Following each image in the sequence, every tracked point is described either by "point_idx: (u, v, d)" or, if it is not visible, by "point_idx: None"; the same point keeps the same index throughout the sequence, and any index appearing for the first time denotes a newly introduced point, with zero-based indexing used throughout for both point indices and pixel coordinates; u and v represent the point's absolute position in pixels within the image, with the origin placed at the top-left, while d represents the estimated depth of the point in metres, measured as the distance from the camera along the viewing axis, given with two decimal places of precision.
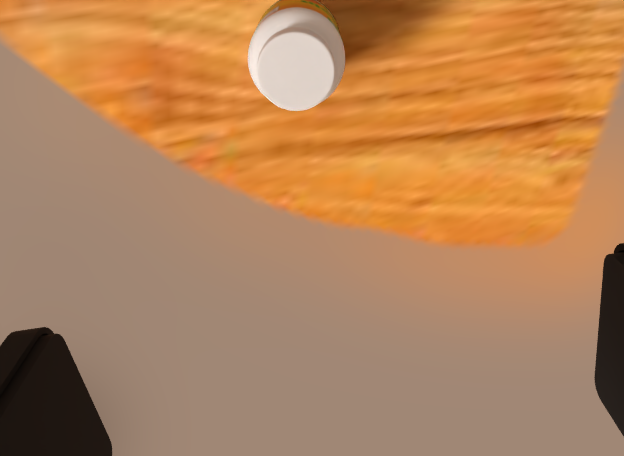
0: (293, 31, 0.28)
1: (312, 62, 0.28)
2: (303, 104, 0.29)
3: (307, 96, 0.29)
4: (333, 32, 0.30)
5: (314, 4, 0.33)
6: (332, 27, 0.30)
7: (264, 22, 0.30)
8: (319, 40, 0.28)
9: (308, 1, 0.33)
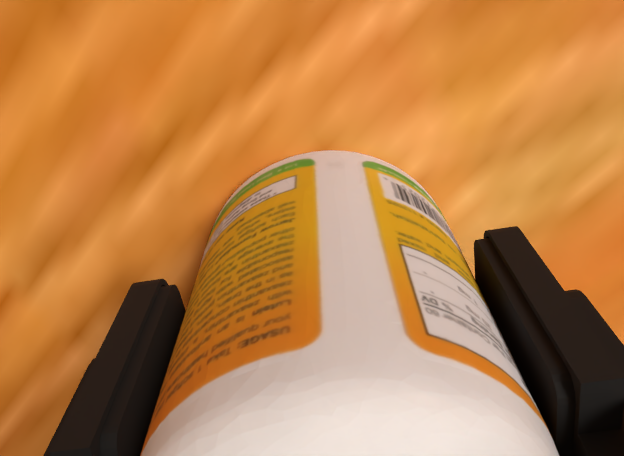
0: None
1: None
2: None
3: None
4: None
5: None
6: None
7: None
8: None
9: None
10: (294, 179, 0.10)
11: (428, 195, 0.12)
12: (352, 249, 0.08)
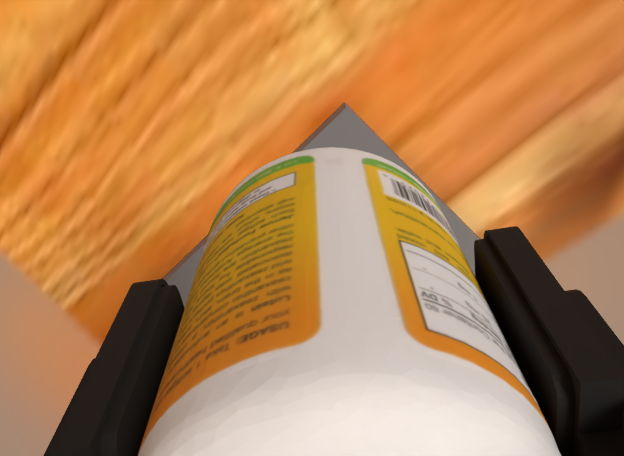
0: None
1: None
2: None
3: None
4: None
5: None
6: None
7: None
8: None
9: None
10: (293, 176, 0.10)
11: (428, 192, 0.11)
12: (351, 244, 0.08)
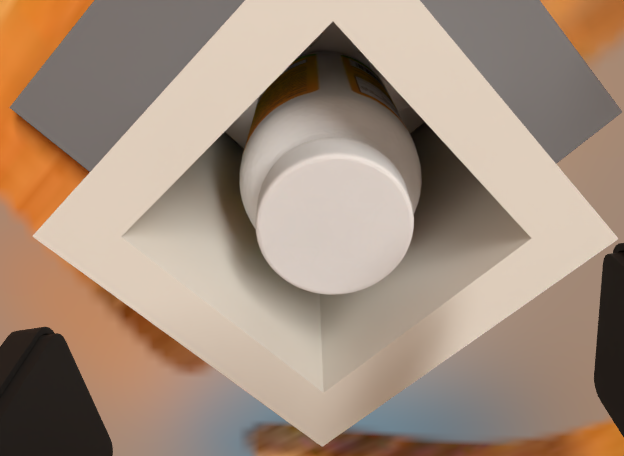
0: (382, 277, 0.15)
1: (321, 262, 0.15)
2: (282, 192, 0.14)
3: (286, 209, 0.14)
4: None
5: None
6: None
7: (417, 204, 0.17)
8: (334, 294, 0.15)
9: None
10: (305, 60, 0.20)
11: None
12: (332, 74, 0.18)
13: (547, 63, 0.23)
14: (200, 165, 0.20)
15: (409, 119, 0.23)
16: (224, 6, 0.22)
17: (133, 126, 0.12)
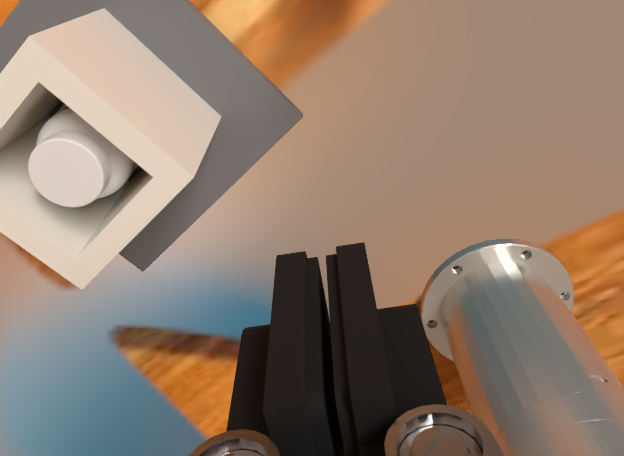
0: (95, 198, 0.31)
1: (62, 190, 0.31)
2: (36, 156, 0.30)
3: (40, 164, 0.30)
4: None
5: None
6: None
7: (129, 165, 0.33)
8: None
9: None
10: None
11: None
12: None
13: (250, 88, 0.39)
14: (34, 147, 0.36)
15: None
16: None
17: None
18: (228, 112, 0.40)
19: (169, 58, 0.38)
